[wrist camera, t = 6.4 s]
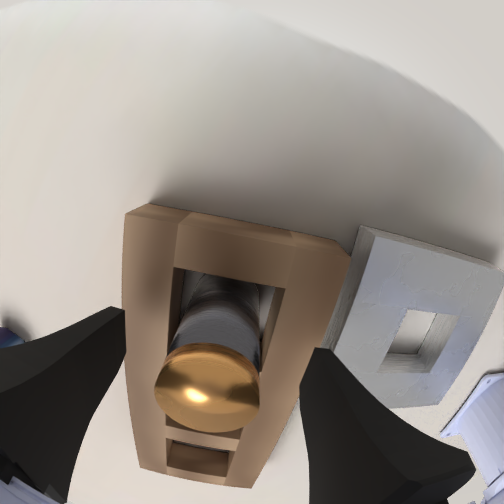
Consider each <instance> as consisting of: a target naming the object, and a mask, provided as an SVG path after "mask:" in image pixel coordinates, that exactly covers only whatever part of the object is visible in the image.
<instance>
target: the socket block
mask: <svg viewBox="0 0 504 504" xmlns="http://www.w3.org/2000/svg"><path fill="white" fill-rule="evenodd" d="M503 286H504V271H503V270H501V269H499V268H498V267H496V266H494V265H493V264H491V263H489V262H487V261H484V260H481V259H478V258H475V257H471V256H468V255H465V254H462V253H459V252H455V251H452V250H449V249H446V248H442V247H439V246H436V245H432V244H429V243H425V242H422V241H418V240H415V239H411V238H408V237H404V236H400V235H397V234H393V233H389V232H386V231H382V230H378V229H374V228H370V227H366V226H362V225H360V227H359V230H358V234H357V237H356V241H355V244H354V248H353V251H352V254H351V261H350V264H349V267H348V270H347V273H346V276H345V279H344V282H343V285H342V288H341V291H340V294H339V297H338V300H337V303H336V306H335V308H334V311H333V314H332V317H331V319H330V322H329V325H328V327H327V330H326V333H325V335H324V338H323V340H322V343H321V346H320V348H326V349H330V350H331V351H332V352H333V353H334V354H335V355H336V356H337V357H338V358H339V359H340V360H341V362H342V363H343V364H344V365H345V366H346V367H347V368H348V370H349V371H350V372H351V373H352V374H353V375H354V376H355V377H356V378H357V379H358V381H359V382H360V383H361V384H362V385H363V386H364V387H365V388H366V389H367V390H368V391H369V392H370V393H371V394H372V395H373V396H374V397H375V398H376V399H378V400H379V401H380V402H381V403H382V404H383V405H384V406H385V407H387V408H388V409H389V408H406V407H419V406H429V405H438V404H439V403H440V401H441V400H442V398H443V397H444V396H445V394H446V393H447V391H448V390H449V388H450V387H451V385H452V384H453V382H454V381H455V379H456V378H457V376H458V375H459V373H460V371H461V370H462V368H463V366H464V365H465V363H466V361H467V360H468V358H469V356H470V355H471V353H472V351H473V349H474V347H475V346H476V344H477V342H478V340H479V338H480V336H481V334H482V332H483V330H484V328H485V326H486V324H487V322H488V320H489V318H490V316H491V314H492V312H493V310H494V307H495V305H496V303H497V300H498V298H499V296H500V293H501V291H502V288H503ZM407 309H411V310H418V311H426V312H433V313H437V315H436V317H435V319H434V321H433V323H432V325H431V327H430V330H429V332H428V334H427V336H426V338H425V340H424V341H423V343H422V345H421V347H420V349H419V351H418V353H417V354H398V353H387V352H388V350H389V348H390V346H391V344H392V342H393V340H394V338H395V335H396V333H397V331H398V329H399V327H400V325H401V323H402V320H403V318H404V316H405V314H406V311H407Z"/></svg>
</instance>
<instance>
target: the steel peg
mask: <svg viewBox="0 0 504 504" xmlns="http://www.w3.org/2000/svg"><path fill="white" fill-rule="evenodd" d="M154 395H155V398H156V401H157V403H158V405H159V406H160V408H161V409H162V410H163V411H164V412H165V413H166V414H167V415H168V416H169V417H170V418H172V419H173V420H175V421H176V422H178V423H180V424H182V425H184V426H186V427H189V428H192V429H195V430H199V431H204V432H228V431H233V430H237V429H239V428H242V427H244V426H246V425H247V424H249V423H250V422H251V421H252V420H253V419H254V418H255V417H256V415H257V414H258V411H259V408H260V363H259V294H258V290H257V287H256V285H255V284H254V283H253V282H247V281H242V280H237V279H232V278H227V277H222V276H217V275H212V274H205V275H204V276H203V277H202V278H201V279H200V281H199V282H198V284H197V286H196V289H195V291H194V293H193V295H192V298H191V300H190V302H189V304H188V307H187V309H186V311H185V314H184V316H183V318H182V320H181V323H180V325H179V327H178V330H177V332H176V334H175V337H174V339H173V341H172V344H171V346H170V349H169V351H168V353H167V356H166V358H165V361H164V363H163V365H162V368H161V370H160V373H159V375H158V378H157V380H156V383H155V386H154Z"/></svg>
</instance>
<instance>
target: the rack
mask: <svg viewBox="0 0 504 504" xmlns="http://www.w3.org/2000/svg"><path fill="white" fill-rule="evenodd" d="M350 261H351V257H350V256H349V255H348V254H347V253H346V252H345V251H344V249H343V248H342V247H341V246H340V245H339V244H338V243H337V242H336V241H335V240H331V239H326V238H322V237H317V236H313V235H308V234H303V233H299V232H294V231H289V230H284V229H279V228H275V227H270V226H265V225H260V224H255V223H250V222H245V221H240V220H235V219H229V218H224V217H219V216H214V215H208V214H203V213H198V212H192V211H187V210H181V209H176V208H170V207H164V206H159V205H153V204H145V205H143V206H141V207H139V208H137V209H134V210H132V211H130V212H128V213H126V214H125V221H124V235H123V254H122V309H123V310H125V327H126V349H127V352H126V354H125V357H124V362H125V374H126V384H127V393H128V401H129V408H130V415H131V422H132V428H133V434H134V440H135V445H136V450H137V455H138V460H139V465H140V468H143V469H147V470H150V471H154V472H158V473H162V474H166V475H170V476H174V477H178V478H183V479H188V480H193V481H198V482H204V483H210V484H216V485H223V486H231V487H240V488H252V486H253V485H254V483H255V481H256V479H257V478H258V476H259V474H260V472H261V471H262V469H263V467H264V465H265V463H266V462H267V460H268V458H269V456H270V454H271V452H272V450H273V448H274V447H275V445H276V443H277V441H278V439H279V437H280V435H281V433H282V431H283V429H284V427H285V425H286V423H287V421H288V419H289V416H290V414H291V412H292V410H293V408H294V406H295V404H296V402H297V399H298V397H299V385H300V382H301V380H302V377H303V375H304V373H305V370H306V368H307V365H308V363H309V360H310V358H311V355H312V353H313V350H314V348H315V347H318V348H320V346H321V343H322V340H323V338H324V335H325V333H326V330H327V327H328V325H329V322H330V319H331V317H332V314H333V311H334V308H335V306H336V303H337V300H338V297H339V294H340V291H341V288H342V285H343V282H344V279H345V276H346V273H347V270H348V267H349V264H350ZM185 269H187V270H192V271H197V272H202V273H207V274H212V275H217V276H222V277H227V278H232V279H237V280H242V281H247V282H253V283H258V284H263V285H269V286H274V287H275V291H274V295H273V299H272V303H271V307H270V310H269V314H268V318H267V322H266V325H265V329H264V333H263V337H262V340H261V342H259V363H260V408H259V411H258V414H257V415H256V417H255V418H254V419H253V420H252V421H251V422H250V423H249V424H247V425H246V426H244V427H242V428H239V429H237V430H233V431H228V432H204V431H199V430H195V429H192V428H189V427H186V426H184V425H182V424H180V423H178V422H176V421H175V420H173V419H172V418H170V417H169V416H168V415H167V414H166V413H165V412H164V411H163V410H162V409H161V408H160V406H159V405H158V403H157V401H156V398H155V395H154V386H155V383H156V380H157V378H158V375H159V373H160V370H161V368H162V365H163V363H164V361H165V358H166V356H167V353H168V351H169V349H170V346H171V344H172V341H173V339H174V337H175V334H176V332H177V330H178V327H179V317H180V307H181V297H182V288H183V279H184V270H185ZM173 440H177V441H181V442H186V443H191V444H196V445H201V446H206V447H212V448H218V449H224V450H229V453H225V452H218V451H212V450H207V449H201V448H196V447H191V446H186V445H182V444H177V443H173Z"/></svg>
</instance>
